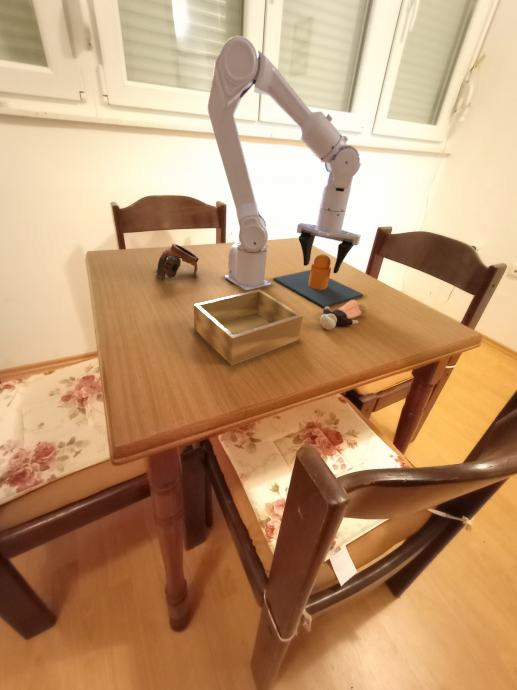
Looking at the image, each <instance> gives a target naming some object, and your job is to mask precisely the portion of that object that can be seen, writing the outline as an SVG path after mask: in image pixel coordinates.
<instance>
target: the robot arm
mask: <svg viewBox="0 0 517 690" xmlns="http://www.w3.org/2000/svg"><path fill="white" fill-rule="evenodd" d="M253 86H254V88H253V89H254V90H253V92H254V93H256V94H259V95H265V96H268V97H270V98H271V100H272V101H274V102H275V103H276V105H277V106H278V107H280V109H281V110H282V111H283V112H284V113H285V114H286V115H287V116H288V117H289V118H290V119H291V120H292V121H293V122H294V123H295V124H296V126H298V127H299V139H300V141H301V142H302V143H303V144H304V145H305V146H306V147H307V149H309V150H310V151H311V153H313V156H315V157H316V158H317V159H318V160H319V161H320V162H321V163H324V168H325V171H326V174H325V180H324V184H323V188H322V192H321V199H320V205H319V210H318V214H317V221H316V224H310V223H304V222H303V223H302V222H300V223H298V224H297V226H296V227H297V229H296V233H297V234H300V235H299V236H298V242H299V244H300V247H301V251H302V258H303V267H304V266H305V267H307V266H308V265H309V264H310V261H311V257H312V256H311V255H312V249H313V245H314V241H315V239H316V237H319V238H324V239H328V240H333V241H337V242H340V243H339V244H338V246H337V254H336V260H335V264H334V267H333V270H332V271H333V272H332V273H333V274H338V272H339V271H340V268H341V265H342V264H343V262H344V260H345V259H346V257H347V255H348V254H349V252H350V251H351V250H352V248H353V247H354V246H358V245H359V244H360V240H361V237H362V235H361V234H357V233H354V232H351V231H350V232H349V231H348V230H347V231H346V230H344V229H342V228H343V224H344V220H345V216H346V211H347V208H348V202H349V198H350V193H351V189H352V182H353V178H354V176H356V175H357V173H358V171H359V170H360V168H361V164H362V163H360V161H361V160H360V153H359V151H358V150H357V148H355V147H354V146H352V145H349V144H347V141H349V138H348V136H347V135H346V134H344V135H342V133H340V131H339V130H338V129H337V128H336V127H335V125H334V124H333V123H332V121H333V117H332V116H331V114H329V113H326V114H324V112H323V111H311V110H310V108H309V107H308V106H307V104H306V103H305V102H304V101H303V99H302V98H301V97H300V95H298V93H297V92H296V91H295V90H294V88H293V87H292V86H291V84H290V83H289V81H288V80H287V79H286V78H285V76H284V75H282V73H281V72H280V70H279V69H278V68H277V66H275V65H274V63H272V61H271V60H270V59H269V58H268V57H267V56H266V55H265V54H264V53H263V52H262V51H260V50H259V49H258V50H256V48H255V46H254V44H253V43H252V42H251V40H250V39H248V38H246V36H242V35H235V36H232V37H230V38H228V39H227V40H226V41H225V42H224V43H223V46H222V48H221V49H220V51H219V53H218V54H217V57H216V59H215V61H214V67H213V74H212V81H211V86H210V91H209V95H208V101H207V113H208V117H209V120H210V124H211V127H212V131H213V134H214V138H215V141H216V144H217V148H218V152H219V156H220V159H221V162H222V165H223V169H224V172H225V176H226V179H227V183H228V187H229V189H230V193H231V196H232V201H233V203H234V204H233V205H234V207H235V212H236V217H237V221H238V226H239V231H238V241H237V242H235V243H234V244H232V245H231V247H230V249H229V252H228V266H227V267H228V269H227V275H225V276H224V278H225V279H226V280H228V281H229V282H231V283H233V284H234V285H237V286H238V287H240V288H241V289H243V290H244V291H251V290H255V289H260V288H263V287H267V286H270V285H272V282H269V281H268V280H266V279H265V277H266V276H265V275H266V265H267V256H268V255H267V254H268V245H267V242H268V238H269V235H268V230H267V224H266V223H267V222H266V221H265V219H264V217H263V216H262V214H260V212H259V208H258V203H257V201H256V198H255V193H254V190H253V186H252V181H251V178H250V174H249V171H248V165H247V162H246V158H245V155H244V150H243V147H242V143H241V139H240V134H239V130H238V127H237V123H236V119H235V114H236V112H237V109H238V107H239V105H240V103H241V101H242V98H243V97H244V96H245V95H246V94H247V93H248V91H250V89H251V88H252V87H253Z"/></svg>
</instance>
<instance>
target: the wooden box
mask: <svg viewBox="0 0 517 690" xmlns="http://www.w3.org/2000/svg"><path fill="white" fill-rule="evenodd" d="M303 318H304V317H303V315H302V314H300V313H299V312H297V311H295V310H294V309H292V308H290V307H289V306H287V305H286V304H284V303H282V302H281V301H279V300H277V299H276V298H274V297H273V296H272V295H270V294H268V293H266V292H265V291H263V290H262V289H261V288H257V289H252V290H248V291H245V292H241V293H237V294H233V295H228V296H224V297H220V298H215V299H211V300H206V301H203V302H198V303H194V304H193V329H194V331H196V332H197V333H198V334H199V336H201V337H202V339H204V340H205V341H206V342H207V343H208V344H209V345H210V346H211V347H212V348H213V349H214V350H215V351H216V352H217V353H218V354H219V355H220V356H221V357H222V358H223V359H224V360H225V361H226V362H227V363H228V364H229V365H231V366H233V365H236V364H238V363H242V362H243V361H247V360H249V359H252V358H255V357H257V356H259V355H262V354H265V353H268V352H271V351H273V350H276V349H278V348H281V347H284V346H286V345H289V344H291V343H292V344H293V343H295V342H297V341H299V340H300V339H299V338H300V332H301V327H302V322H303Z"/></svg>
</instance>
